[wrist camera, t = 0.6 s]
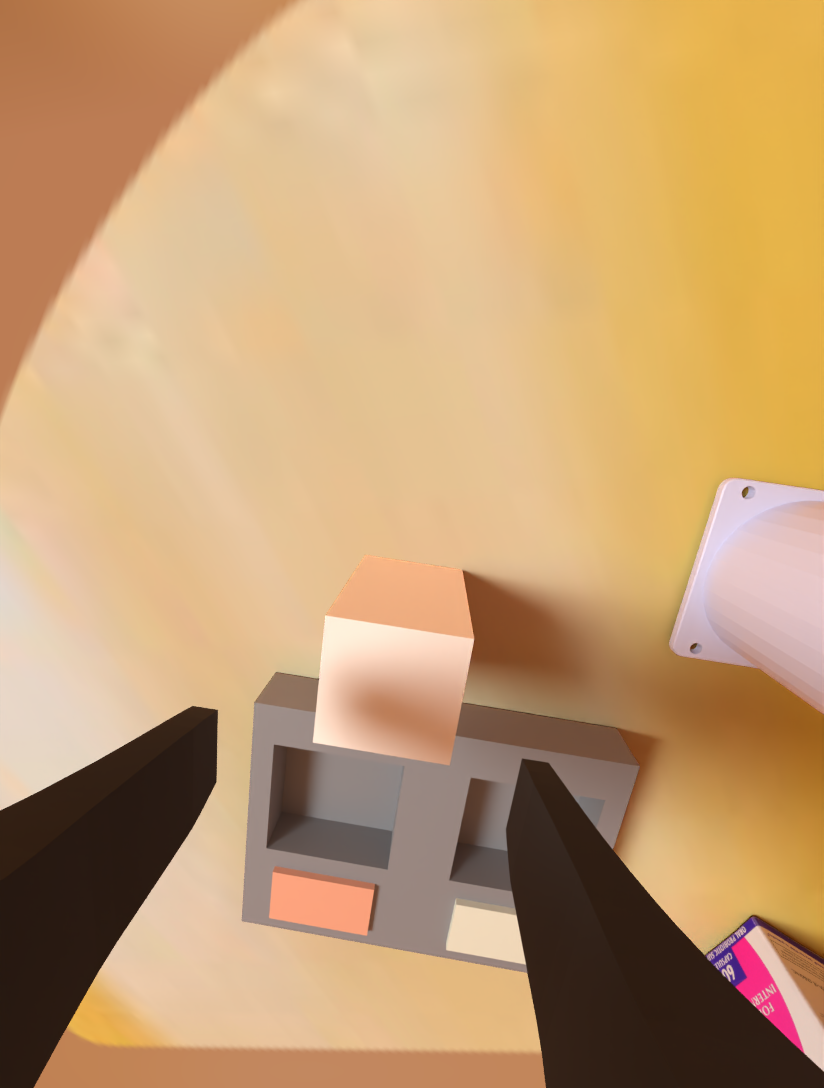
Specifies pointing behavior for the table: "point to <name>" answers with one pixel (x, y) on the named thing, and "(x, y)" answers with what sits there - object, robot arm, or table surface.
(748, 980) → the supplement box
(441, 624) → the plug block
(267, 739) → the organiser tray
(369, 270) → the table surface
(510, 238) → the table surface
